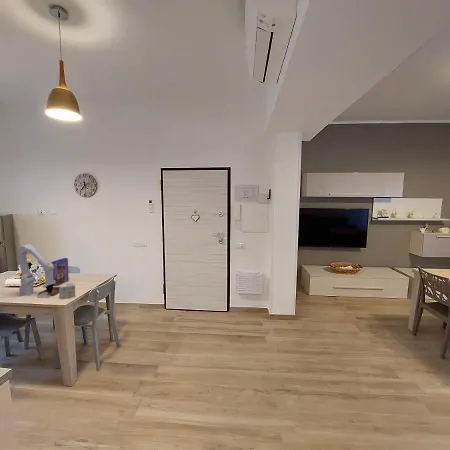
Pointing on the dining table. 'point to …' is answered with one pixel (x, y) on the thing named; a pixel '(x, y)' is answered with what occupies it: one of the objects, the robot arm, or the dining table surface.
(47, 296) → the cover plate
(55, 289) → the walnut box
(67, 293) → the light bulb box
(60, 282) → the cereal box
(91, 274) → the dining table surface
